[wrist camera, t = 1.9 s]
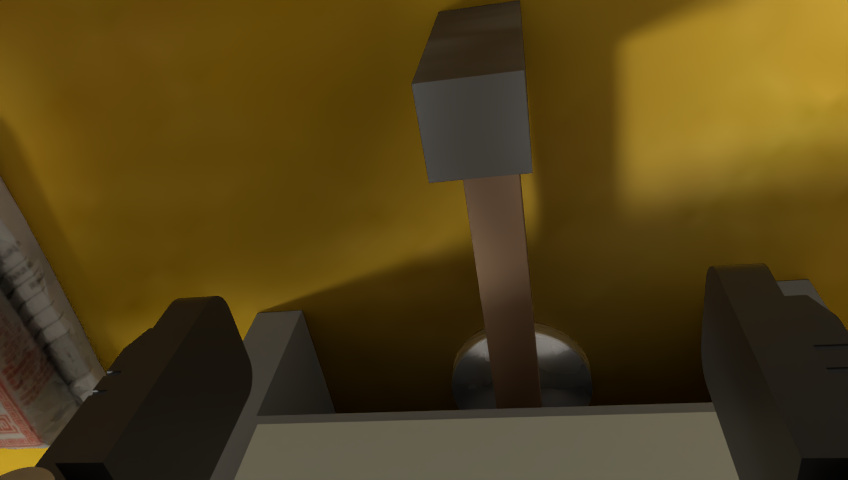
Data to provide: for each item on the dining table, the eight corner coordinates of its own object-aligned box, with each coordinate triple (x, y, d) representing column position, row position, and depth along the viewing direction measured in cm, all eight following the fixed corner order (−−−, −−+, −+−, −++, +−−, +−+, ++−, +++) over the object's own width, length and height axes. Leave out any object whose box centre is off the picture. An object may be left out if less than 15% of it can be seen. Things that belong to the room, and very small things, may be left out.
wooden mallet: (434, 454, 38) (418, 591, 31) (336, 26, 25) (271, 101, 18) (630, 451, 36) (658, 596, 29) (633, -17, 23) (685, 50, 16)
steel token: (462, 417, 36) (461, 439, 35) (445, 320, 32) (442, 340, 31) (591, 414, 35) (594, 436, 33) (587, 313, 31) (590, 333, 30)
